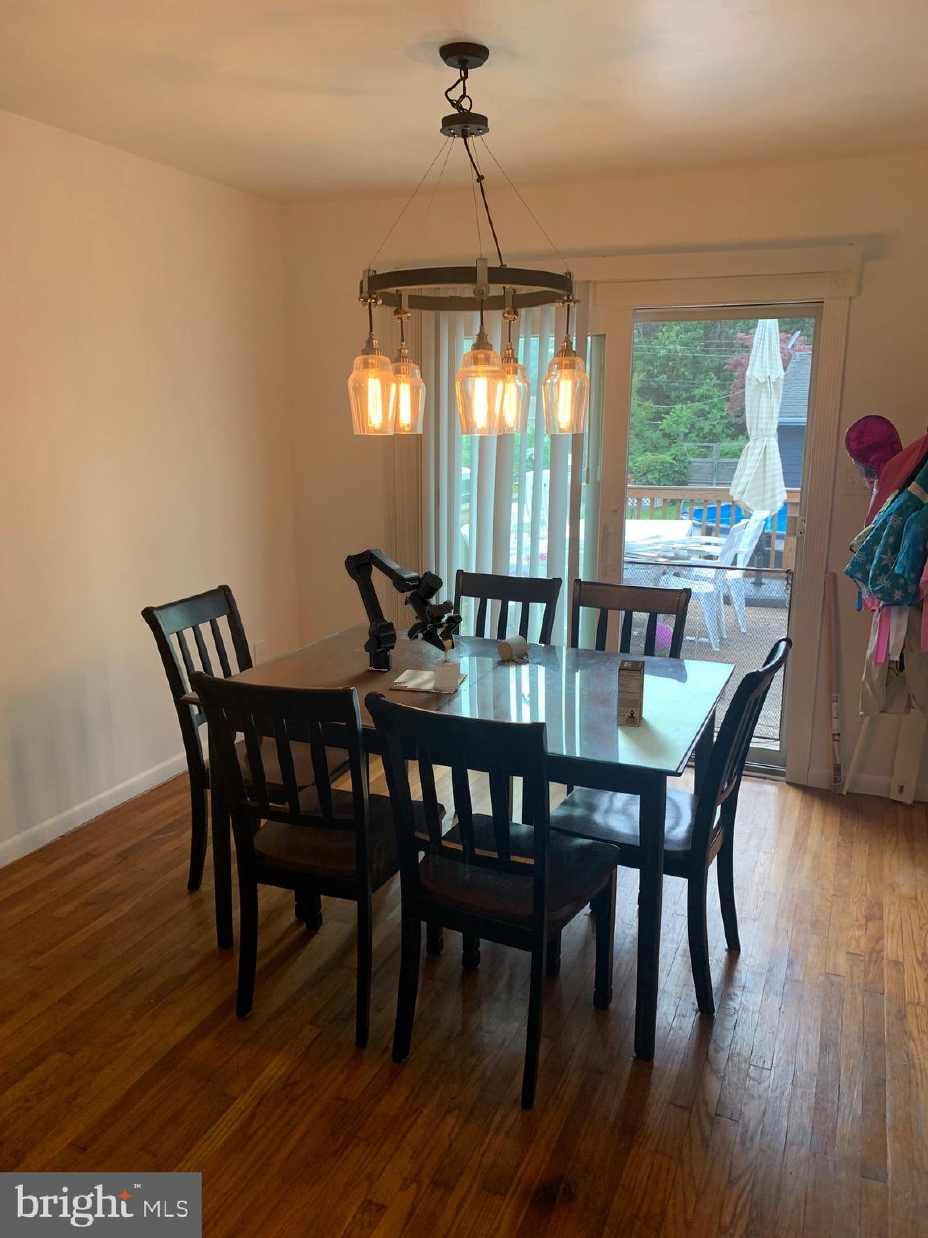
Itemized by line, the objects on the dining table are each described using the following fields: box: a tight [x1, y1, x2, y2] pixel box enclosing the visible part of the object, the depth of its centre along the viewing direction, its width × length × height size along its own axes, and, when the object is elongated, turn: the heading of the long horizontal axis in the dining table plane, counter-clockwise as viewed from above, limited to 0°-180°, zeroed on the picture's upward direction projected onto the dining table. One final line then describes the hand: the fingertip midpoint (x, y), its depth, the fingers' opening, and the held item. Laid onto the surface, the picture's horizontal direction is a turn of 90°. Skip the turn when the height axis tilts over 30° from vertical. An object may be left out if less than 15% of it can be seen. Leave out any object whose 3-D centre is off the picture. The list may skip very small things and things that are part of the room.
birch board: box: [393, 669, 468, 694], centre depth 277 cm, size 20×18×1 cm
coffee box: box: [616, 659, 646, 728], centre depth 241 cm, size 9×6×16 cm
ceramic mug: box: [497, 635, 530, 664], centre depth 302 cm, size 11×8×8 cm
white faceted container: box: [433, 657, 461, 690], centre depth 270 cm, size 9×8×8 cm
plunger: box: [440, 638, 453, 662], centre depth 269 cm, size 5×5×9 cm
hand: (449, 649), depth 267 cm, fingers closed on plunger, 3 cm apart
